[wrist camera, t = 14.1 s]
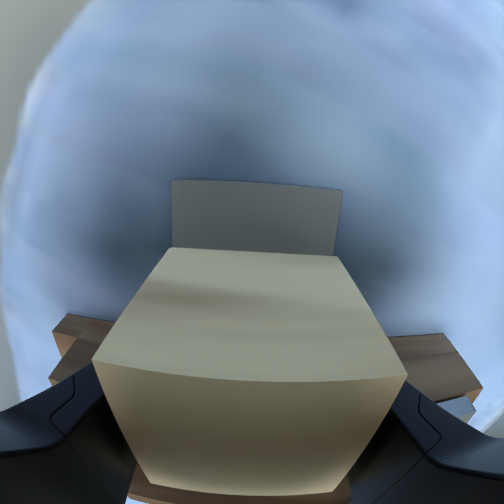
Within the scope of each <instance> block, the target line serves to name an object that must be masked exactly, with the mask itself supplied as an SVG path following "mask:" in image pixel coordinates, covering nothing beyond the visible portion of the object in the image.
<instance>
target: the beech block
mask: <svg viewBox="0 0 504 504" xmlns="http://www.w3.org/2000/svg"><path fill="white" fill-rule="evenodd" d="M92 362H93V365H94V368H95V371H96V373H97V376H98V379H99V381H100V384H101V386H102V389H103V391H104V394H105V396H106V398H107V401H108V403H109V405H110V408H111V410H112V412H113V414H114V416H115V419H116V421H117V423H118V425H119V427H120V429H121V431H122V433H123V435H124V437H125V439H126V441H127V443H128V445H129V447H130V449H131V450H132V452H133V454H134V456H135V458H136V460H137V461H138V463H139V465H140V467H141V468H142V470H143V472H144V473H145V475H146V477H147V478H148V480H149V482H150V483H152V484H157V485H161V486H167V487H172V488H178V489H184V490H191V491H198V492H206V493H216V494H228V495H247V496H285V495H304V494H316V493H325V492H333V490H334V489H335V488H336V487H337V485H338V484H339V483H340V482H341V480H342V479H343V478H344V477H345V475H346V474H347V473H348V471H349V470H350V469H351V467H352V466H353V465H354V463H355V462H356V460H357V459H358V458H359V456H360V455H361V453H362V452H363V450H364V449H365V448H366V446H367V445H368V443H369V442H370V440H371V439H372V437H373V435H374V434H375V432H376V431H377V429H378V428H379V426H380V424H381V423H382V421H383V419H384V418H385V416H386V414H387V413H388V411H389V409H390V407H391V406H392V404H393V402H394V400H395V398H396V397H397V395H398V393H399V391H400V389H401V387H402V385H403V383H404V381H405V379H406V377H407V375H408V374H407V372H406V370H405V368H404V366H403V364H402V363H401V361H400V359H399V357H398V355H397V354H396V352H395V350H394V348H393V346H392V345H391V343H390V341H389V339H388V338H387V336H386V334H385V332H384V331H383V329H382V327H381V326H380V324H379V322H378V320H377V319H376V317H375V315H374V314H373V312H372V310H371V309H370V307H369V305H368V304H367V302H366V300H365V299H364V297H363V296H362V294H361V292H360V291H359V289H358V288H357V286H356V284H355V283H354V281H353V280H352V278H351V276H350V275H349V273H348V272H347V270H346V269H345V267H344V265H343V264H342V262H341V261H340V259H339V258H338V256H320V255H302V254H284V253H266V252H248V251H230V250H212V249H194V248H176V247H170V248H169V249H168V250H167V252H166V253H165V254H164V256H163V257H162V258H161V260H160V261H159V262H158V264H157V265H156V266H155V268H154V269H153V270H152V272H151V273H150V274H149V276H148V277H147V278H146V280H145V281H144V283H143V284H142V285H141V287H140V288H139V290H138V291H137V292H136V294H135V295H134V297H133V298H132V299H131V301H130V302H129V304H128V305H127V307H126V308H125V309H124V311H123V312H122V314H121V315H120V317H119V318H118V320H117V321H116V323H115V324H114V326H113V327H112V329H111V330H110V332H109V333H108V335H107V336H106V338H105V339H104V341H103V342H102V344H101V345H100V347H99V348H98V350H97V351H96V353H95V354H94V356H93V358H92Z"/></svg>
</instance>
